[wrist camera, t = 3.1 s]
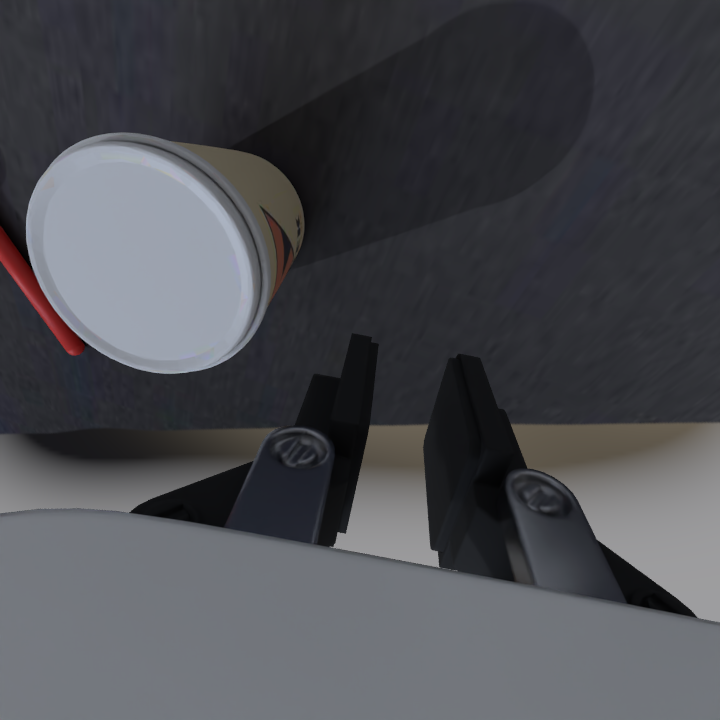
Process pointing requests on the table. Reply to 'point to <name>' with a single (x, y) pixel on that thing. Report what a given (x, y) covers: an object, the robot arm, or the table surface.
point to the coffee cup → (162, 247)
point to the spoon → (37, 295)
